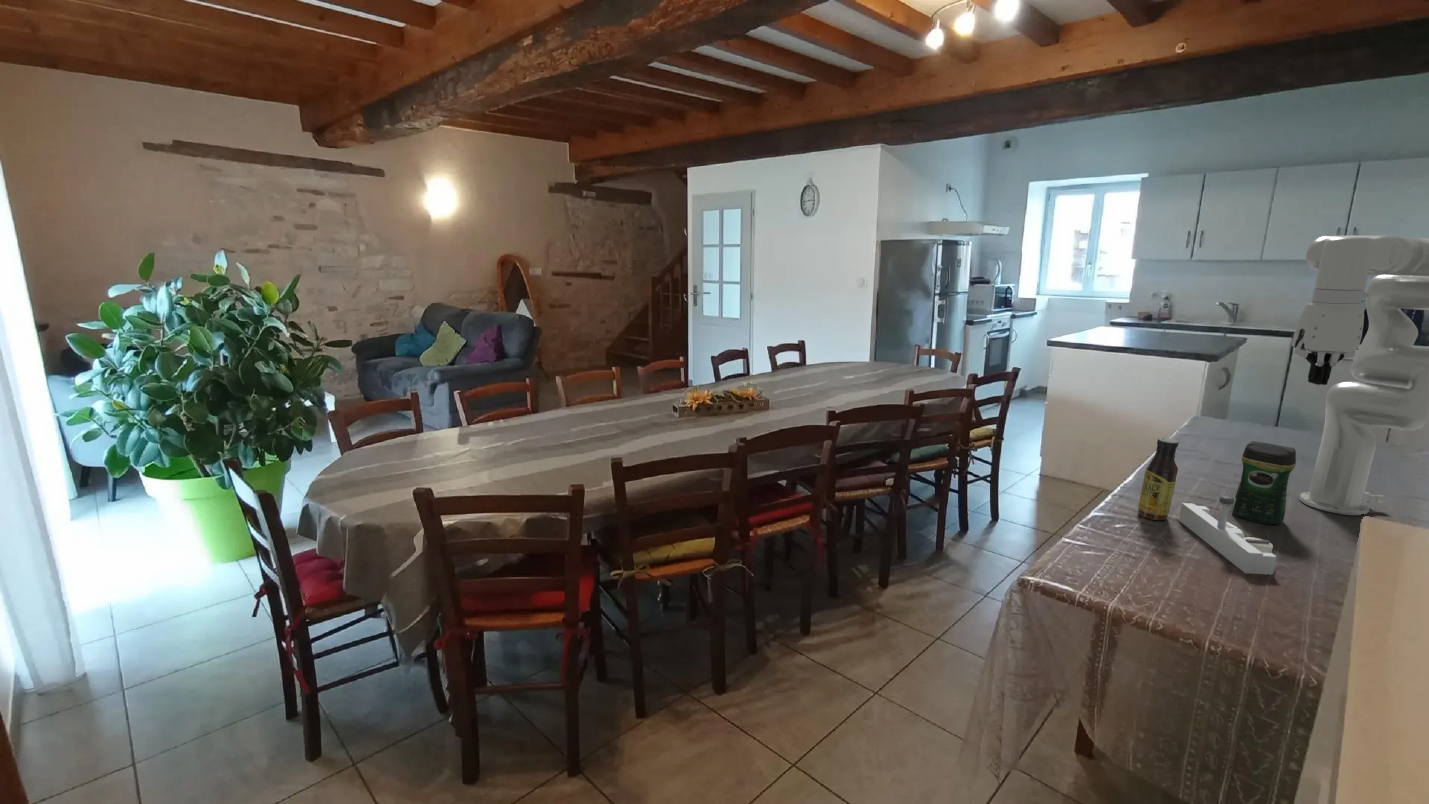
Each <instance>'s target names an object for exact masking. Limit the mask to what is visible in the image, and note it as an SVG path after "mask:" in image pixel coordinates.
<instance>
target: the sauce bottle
mask: <svg viewBox="0 0 1429 804" xmlns="http://www.w3.org/2000/svg"><path fill="white" fill-rule="evenodd" d="M1179 443H1180V442H1179V441H1178V440H1177V439H1175V438H1171V437H1159V438H1157V441H1156V450H1155V453H1154V456H1153V458H1152V459H1151V461H1150V462H1149V464H1148V466H1147V467H1146V469H1145V471H1144V472H1145V473H1144V478H1143V483H1142V485H1141V491H1140V497H1139V502H1138V509H1137V512H1138V515H1140V516H1141V517H1143V518H1146V519H1148V520H1150V521H1165V520H1166V519H1168V517H1169V514H1170V509H1171V505H1172V501H1173V500H1172V499H1173V496H1174V491H1175V487H1176V482H1177V475H1178V471H1179V470H1178V469H1179V468H1178V466H1177V464H1176V462H1175V458H1176V450H1177V448H1178V447H1179Z"/></svg>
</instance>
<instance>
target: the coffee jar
mask: <svg viewBox="0 0 1429 804" xmlns="http://www.w3.org/2000/svg"><path fill="white" fill-rule="evenodd" d="M1241 462H1242V472H1241V477H1240V481H1239V484H1238V488H1237V491H1236V492H1235V496H1234V503H1233V504H1232V506H1231V513H1233V514H1234V515H1235V516H1237V517H1239V518H1243V519H1246V520H1250V521H1253V522H1258V523H1262V524H1267V525H1268V524H1269V525H1279V524H1280V523H1282V522H1283V521H1284V519H1285V514H1286V506H1287V505H1286V504H1287V490H1288V483H1289V479H1290V478H1289V477H1290V474H1291V473H1292V471H1293V470H1294V469H1295V467H1296V464H1297V453H1296V448H1294V447H1289V446H1285V445H1284V446H1283V445H1279V444H1274V443H1269V442H1268V443H1267V442H1261V441H1256V440H1251V441H1250V442H1248V443H1247V444H1246V446H1245V448H1244V451H1243V453H1242V455H1241Z"/></svg>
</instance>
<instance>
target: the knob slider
mask: <svg viewBox="0 0 1429 804" xmlns="http://www.w3.org/2000/svg"><path fill="white" fill-rule="evenodd" d="M1242 539H1244V540H1245V541H1246V542H1248V543H1249V544H1250V545H1252V546H1253V547H1255V548H1256V549H1257V550H1259V551H1260V552H1262V553H1272V554H1273V548H1274V545H1273V544H1272V543H1271V541H1269V540H1268V539H1261V538H1259V537H1258V538H1257V537H1253V536H1252V537H1251V536H1247V537H1244V538H1242Z"/></svg>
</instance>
